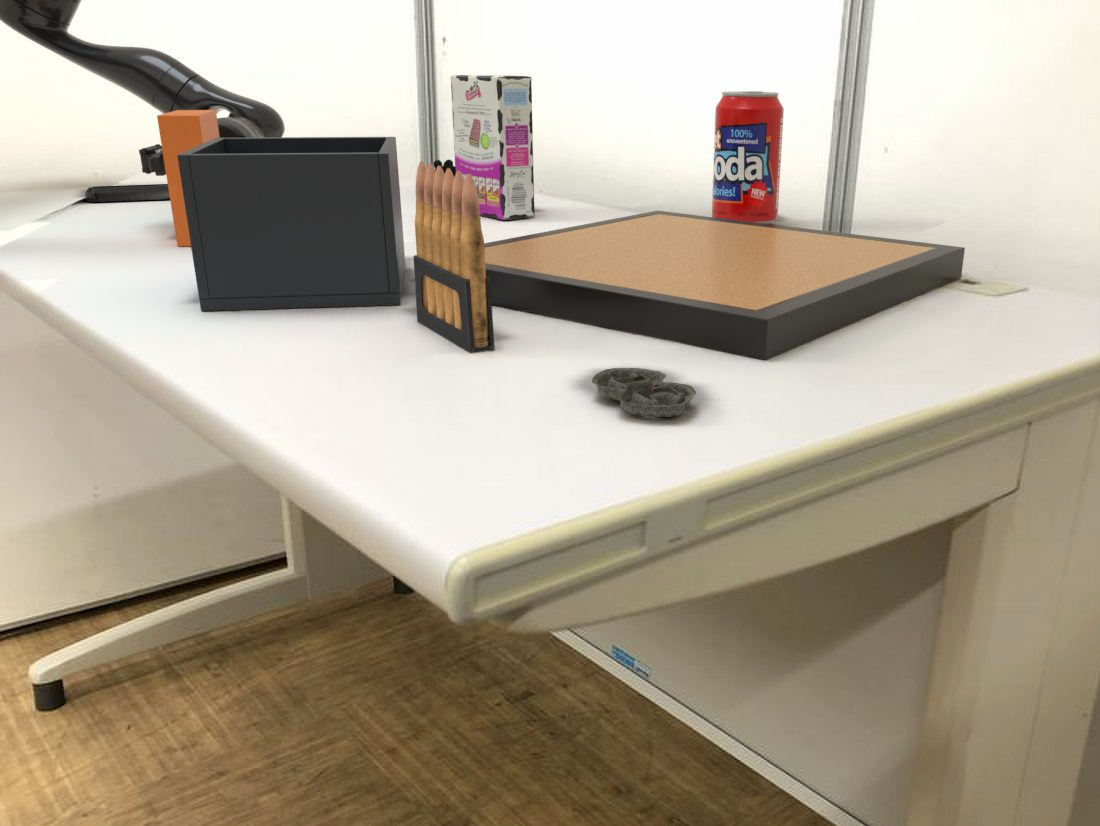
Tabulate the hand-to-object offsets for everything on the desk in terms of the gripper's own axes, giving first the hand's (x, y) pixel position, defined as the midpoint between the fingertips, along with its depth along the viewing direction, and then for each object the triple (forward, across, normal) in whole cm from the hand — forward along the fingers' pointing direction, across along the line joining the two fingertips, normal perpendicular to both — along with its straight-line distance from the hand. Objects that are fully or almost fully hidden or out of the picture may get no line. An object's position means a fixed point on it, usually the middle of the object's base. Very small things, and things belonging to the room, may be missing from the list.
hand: (199, 165), depth 114 cm
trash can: (+29, -14, -8) cm, 33 cm away
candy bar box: (-12, -32, -8) cm, 35 cm away
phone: (-33, +14, -8) cm, 37 cm away
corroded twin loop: (+65, -37, -8) cm, 75 cm away
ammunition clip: (+47, -26, -8) cm, 54 cm away
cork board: (+32, -48, -8) cm, 58 cm away
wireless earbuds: (-28, -26, -8) cm, 39 cm away
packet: (+2, 0, -8) cm, 8 cm away
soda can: (0, -61, -8) cm, 61 cm away
